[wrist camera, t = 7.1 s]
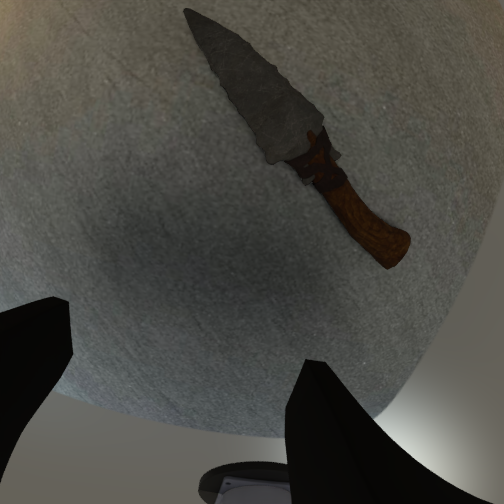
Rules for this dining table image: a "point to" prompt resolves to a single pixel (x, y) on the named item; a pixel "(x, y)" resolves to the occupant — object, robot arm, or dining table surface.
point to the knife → (292, 133)
